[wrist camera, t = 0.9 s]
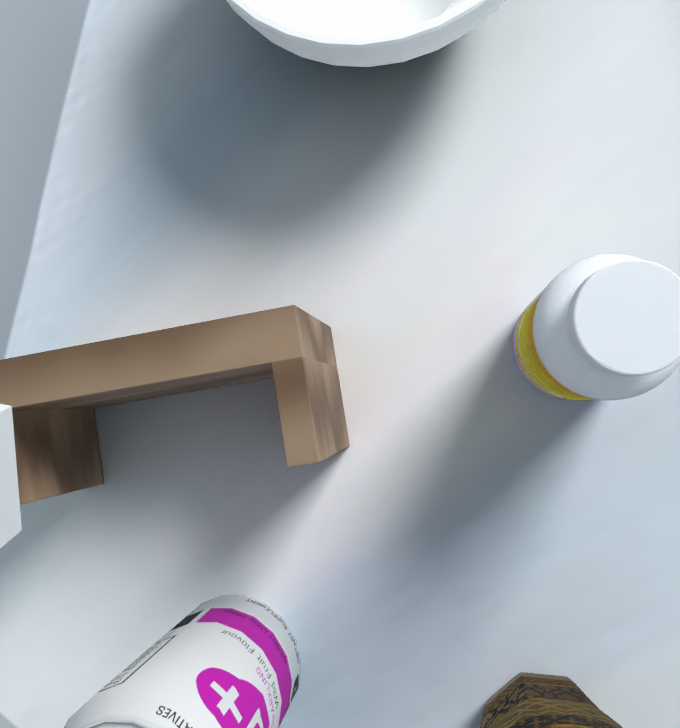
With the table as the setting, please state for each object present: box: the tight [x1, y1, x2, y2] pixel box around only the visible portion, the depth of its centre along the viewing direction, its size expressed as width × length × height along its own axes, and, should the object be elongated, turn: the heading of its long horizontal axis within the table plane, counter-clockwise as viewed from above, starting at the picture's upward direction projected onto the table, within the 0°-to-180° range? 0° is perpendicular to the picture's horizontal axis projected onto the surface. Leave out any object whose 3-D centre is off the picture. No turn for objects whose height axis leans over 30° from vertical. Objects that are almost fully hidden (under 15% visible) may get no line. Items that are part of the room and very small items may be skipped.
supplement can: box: [64, 596, 301, 728], centre depth 33 cm, size 8×8×15 cm
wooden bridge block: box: [0, 305, 349, 505], centre depth 37 cm, size 8×18×10 cm, turn 99°
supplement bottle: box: [514, 254, 680, 400], centre depth 32 cm, size 7×7×13 cm
